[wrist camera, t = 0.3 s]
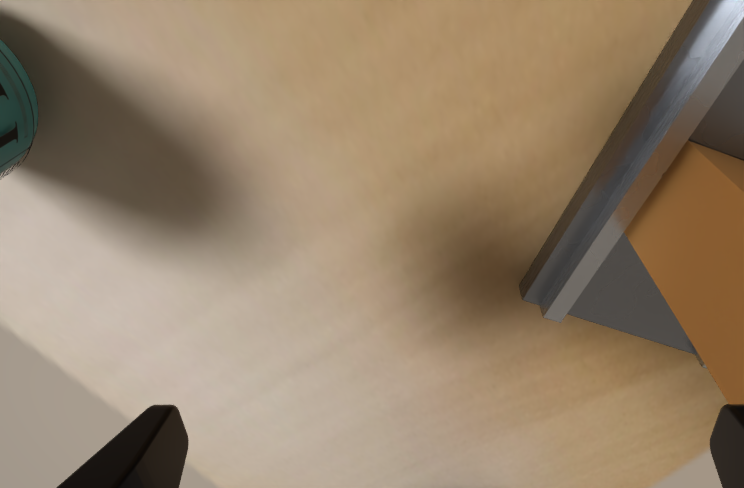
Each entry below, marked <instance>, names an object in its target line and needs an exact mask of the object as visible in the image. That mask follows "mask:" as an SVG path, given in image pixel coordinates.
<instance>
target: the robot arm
mask: <svg viewBox="0 0 744 488" xmlns="http://www.w3.org/2000/svg"><path fill="white" fill-rule="evenodd" d="M710 450H711V454H712V457H713V460H714V463H715V466H716V469H717V472H718V475H719V478H720V481H721V484H722V487H723V488H744V404H727V405H725V406H723V407H722V408H721V410H720V413H719V415H718V418H717V421H716V424H715V426H714V429H713V432H712V435H711V438H710ZM187 451H188V435H187V432H186V429H185V427H184V424H183V421H182V418H181V416H180V413H179V410H178V408H177V407H176V406H174V405H153V406H151V407H149V408H147V409H146V410H145V411H144V412H143V413H142V414H140V415H139V416H138V417H137V418H136V419H135V420H134V421H132V422H131V423H130V424H129V425H128V426H127V427H126V428H124V429H123V430H122V431H121V432H120V433H119V434H118V435H116V436H115V437H114V438H113V439H112V440H111V441H109V442H108V443H107V444H106V445H105V446H104V447H103V448H102V449H100V450H99V451H98V452H97V453H96V454H95V455H93V456H92V457H91V458H90V459H89V460H88V461H87V462H85V463H84V464H83V465H82V466H81V467H80V468H79V469H77V470H76V471H75V472H74V473H73V474H72V475H71V476H69V477H68V478H67V479H66V480H65V481H64V482H63V483H61V484H60V485H59V486H58V487H57V488H179V485H180V480H181V476H182V472H183V468H184V464H185V459H186V455H187Z"/></svg>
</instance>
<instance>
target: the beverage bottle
mask: <svg viewBox="0 0 744 488" xmlns="http://www.w3.org/2000/svg"><path fill="white" fill-rule="evenodd" d="M37 125H38V105H37V100H36V95H35V92H34V89H33V86H32V84H31V82H30V79H29V77H28V75H27V73H26V72H25V70H24V68H23V66H22V65H21V63H20V62H19V61H18V59H17V58H16V56H15V55H14V54H13V53H12V51H11V50H10V49H9V48H8V47H7V46H6V44H5V43H4V42H2V41H1V40H0V175H1V174H2V172H4V173H5V170H7V169H8V168H11V166H13V165H14V166H15V163H17V162H18V161H19V160H20V159H21V158H22V157H23V155H24V154H25V152H26V151H27V149H29V148H31V146H32V142H33V138H34V136H35V133H36V129H37ZM30 144H31V146H30ZM29 146H30V147H29ZM28 147H29V148H28ZM29 151H30V149H29ZM29 151H28V153H29ZM28 153H27V155H28ZM26 157H27V156H26ZM26 157H25V158H26ZM24 160H25V159H24ZM24 160H23V161H24ZM18 164H19V162H18ZM18 164H17V165H18ZM17 165H16V166H17ZM20 165H21V164H20ZM20 165H19V166H20ZM14 166H13V167H14ZM16 166H15V167H16ZM19 166H18V167H19ZM13 167H12V169H13ZM18 167H17V168H18ZM12 169H11V170H12ZM14 169H15V168H14ZM9 170H10V169H9ZM9 170H8V171H9ZM11 170H10V171H11ZM8 171H7V172H6V174H7V175H8ZM10 171H9V172H10ZM12 171H13V170H12ZM12 171H11V172H12ZM4 173H3V175H4ZM6 174H5V176H6ZM3 175H2V176H3ZM2 176H1V177H2ZM1 177H0V180H1ZM3 178H4V176H3Z"/></svg>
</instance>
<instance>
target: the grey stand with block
mask: <svg viewBox="0 0 744 488" xmlns="http://www.w3.org/2000/svg"><path fill="white" fill-rule="evenodd" d="M687 140H689V141H691V142H694V143H697V144H699V145H702V146H705V147H708V148H710V149H713V150H716V151H718V152H721V153H724V154H727V155H729V156H732V157H735V158H737V159H740V160H743V161H744V0H693V1H692V3H691V5H690V6H689V8H688V9H687V11H686V13H685V14H684V16H683V18H682V19H681V21H680V23H679V24H678V26H677V27H676V29H675V31H674V32H673V34H672V36H671V37H670V39H669V41H668V42H667V44H666V45H665V47H664V49H663V50H662V52H661V54H660V55H659V57H658V59H657V60H656V62H655V64H654V65H653V67H652V68H651V70H650V72H649V73H648V75H647V77H646V78H645V80H644V82H643V83H642V85H641V86H640V88H639V90H638V91H637V93H636V95H635V96H634V98H633V100H632V101H631V103H630V105H629V106H628V108H627V109H626V111H625V113H624V114H623V116H622V118H621V119H620V121H619V123H618V124H617V126H616V127H615V129H614V131H613V132H612V134H611V136H610V137H609V139H608V141H607V142H606V144H605V146H604V147H603V149H602V150H601V152H600V154H599V155H598V157H597V159H596V160H595V162H594V164H593V165H592V167H591V168H590V170H589V172H588V173H587V175H586V177H585V178H584V180H583V182H582V183H581V185H580V187H579V188H578V190H577V191H576V193H575V195H574V196H573V198H572V200H571V201H570V203H569V205H568V206H567V208H566V209H565V211H564V213H563V214H562V216H561V218H560V219H559V221H558V223H557V224H556V226H555V228H554V229H553V231H552V232H551V234H550V236H549V237H548V239H547V241H546V242H545V244H544V246H543V247H542V249H541V250H540V252H539V254H538V255H537V257H536V259H535V260H534V262H533V264H532V265H531V267H530V268H529V270H528V272H527V273H526V275H525V277H524V278H523V280H522V282H521V283H520V285H519V289H520V292H521V296H522V300H524V301H527V302H530V303H534V304H537V305H540V308H541V312H542V315H543V318H547V319H550V320H553V321H556V322H559V323H561V322H562V320H563V319H564V317H565V316H566V314H569V315H572V316H575V317H578V318H581V319H584V320H588V321H591V322H594V323H597V324H600V325H603V326H607V327H610V328H613V329H616V330H619V331H623V332H626V333H629V334H632V335H635V336H638V337H642V338H645V339H648V340H651V341H654V342H658V343H661V344H664V345H667V346H670V347H673V348H677V349H680V350H683V351H686V352H689V353H692V354H695V356H696V358H697V359H698V361H699V363H700V364H701V366H702V367H704V368H707V367H706V365H705V364H704V362H703V360H702V359H701V357H700V356H699V354H698V352H697V351H696V349H695V347H694V346H693V344H692V343H691V341H690V339H689V338H688V336H687V334H686V333H685V331H684V329H683V328H682V326H681V325H680V323H679V321H678V320H677V318H676V316H675V315H674V313H673V312H672V310H671V308H670V307H669V305H668V303H667V302H666V300H665V298H664V297H663V295H662V294H661V292H660V290H659V289H658V287H657V285H656V284H655V282H654V281H653V279H652V277H651V276H650V274H649V272H648V271H647V269H646V267H645V266H644V264H643V263H642V261H641V259H640V258H639V256H638V254H637V253H636V251H635V250H634V248H633V246H632V245H631V243H630V241H629V240H628V238H627V236H626V235H625V233H624V231H625V229H626V228H627V227H628V225H629V224H630V222H631V221H632V219H633V218H634V216H635V215H636V214H637V212H638V211H639V209H640V208H641V206H642V205H643V204H644V202H645V201H646V199H647V198H648V196H649V195H650V193H651V192H652V191H653V189H654V188H655V186H656V185H657V183H658V182H659V180H660V179H661V178H662V176H663V175H664V173H665V172H666V170H667V169H668V168H669V166H670V165H671V163H672V162H673V160H674V159H675V157H676V156H677V155H678V153H679V152H680V150H681V149H682V147H683V146H684V145H685V143H686V142H687Z"/></svg>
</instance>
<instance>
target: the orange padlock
mask: <svg viewBox="0 0 744 488" xmlns="http://www.w3.org/2000/svg"><path fill="white" fill-rule="evenodd" d="M624 233H625V235H626V236H627V238H628V240H629V241H630V243H631V245H632V246H633V248H634V250H635V251H636V253H637V254H638V256H639V258H640V259H641V261H642V263H643V264H644V266H645V267H646V269H647V271H648V272H649V274H650V276H651V277H652V279H653V281H654V282H655V284H656V285H657V287H658V289H659V290H660V292H661V294H662V295H663V297H664V298H665V300H666V302H667V303H668V305H669V307H670V308H671V310H672V312H673V313H674V315H675V316H676V318H677V320H678V321H679V323H680V325H681V326H682V328H683V329H684V331H685V333H686V334H687V336H688V338H689V339H690V341H691V343H692V344H693V346H694V347H695V349H696V351H697V352H698V354H699V356H700V357H701V359H702V360H703V362H704V364H705V365H706V367H707V369H708V370H709V372H710V374H711V375H712V377H713V378H714V380H715V382H716V383H717V385H718V387H719V388H720V390H721V391H722V393H723V395H724V396H725V398H726V400H727V401H728V403H729V404H744V161H743V160H740V159H737V158H735V157H732V156H729V155H727V154H724V153H721V152H718V151H716V150H713V149H710V148H708V147H705V146H702V145H699V144H697V143H694V142H691V141H689V140H687V142H686V143H685V145H684V146H683V147H682V149H681V150H680V152H679V153H678V155H677V156H676V157H675V159H674V160H673V162H672V163H671V165H670V166H669V168H668V169H667V170H666V172H665V173H664V175H663V176H662V178H661V179H660V180H659V182H658V183H657V185H656V186H655V188H654V189H653V191H652V192H651V193H650V195H649V196H648V198H647V199H646V201H645V202H644V204H643V205H642V206H641V208H640V209H639V211H638V212H637V214H636V215H635V216H634V218H633V219H632V221H631V222H630V224H629V225H628V227H627V228H626V229H625V231H624Z"/></svg>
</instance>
